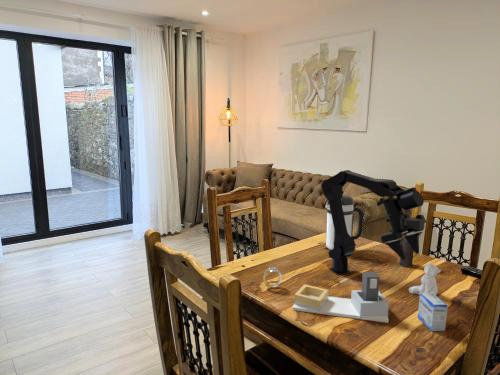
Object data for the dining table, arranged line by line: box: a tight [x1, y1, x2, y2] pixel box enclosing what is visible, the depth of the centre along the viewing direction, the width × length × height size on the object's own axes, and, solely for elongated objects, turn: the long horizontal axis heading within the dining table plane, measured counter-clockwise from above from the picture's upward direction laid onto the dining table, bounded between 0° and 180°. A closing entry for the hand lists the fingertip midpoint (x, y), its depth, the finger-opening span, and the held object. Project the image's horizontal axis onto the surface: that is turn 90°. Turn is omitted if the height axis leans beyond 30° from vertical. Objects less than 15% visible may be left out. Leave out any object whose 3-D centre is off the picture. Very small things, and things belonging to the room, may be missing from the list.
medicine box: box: [417, 293, 448, 332], centre depth 112 cm, size 8×4×9 cm, turn 5°
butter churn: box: [399, 209, 415, 268], centre depth 157 cm, size 9×10×28 cm
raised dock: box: [350, 289, 390, 320], centre depth 120 cm, size 9×9×6 cm
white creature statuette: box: [408, 262, 442, 296], centre depth 131 cm, size 10×9×12 cm
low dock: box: [293, 283, 330, 315], centre depth 125 cm, size 9×9×4 cm
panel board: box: [292, 296, 389, 324], centre depth 123 cm, size 30×11×1 cm, turn 75°
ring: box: [262, 266, 283, 288], centre depth 137 cm, size 7×3×8 cm, turn 89°
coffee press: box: [322, 190, 364, 251], centre depth 176 cm, size 17×16×30 cm
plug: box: [361, 271, 380, 301], centre depth 119 cm, size 5×4×9 cm
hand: (411, 256), depth 127 cm, fingers open, 9 cm apart
